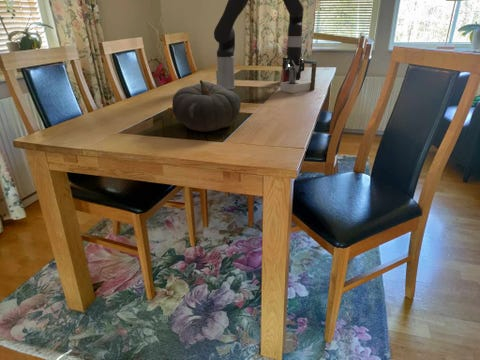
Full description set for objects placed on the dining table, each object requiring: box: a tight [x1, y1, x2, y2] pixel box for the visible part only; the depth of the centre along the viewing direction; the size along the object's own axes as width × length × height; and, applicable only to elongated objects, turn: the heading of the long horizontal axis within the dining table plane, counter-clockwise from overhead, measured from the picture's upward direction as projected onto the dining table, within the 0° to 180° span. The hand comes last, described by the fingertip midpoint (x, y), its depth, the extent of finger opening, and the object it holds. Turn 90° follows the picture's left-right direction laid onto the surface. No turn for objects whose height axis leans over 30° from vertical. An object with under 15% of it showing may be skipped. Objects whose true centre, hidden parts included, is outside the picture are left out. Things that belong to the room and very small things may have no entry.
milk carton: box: [279, 49, 293, 84], centre depth 199 cm, size 9×9×20 cm
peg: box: [289, 67, 296, 84], centre depth 180 cm, size 3×3×12 cm
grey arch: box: [296, 58, 318, 92], centre depth 183 cm, size 4×14×15 cm, turn 36°
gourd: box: [171, 79, 242, 133], centre depth 124 cm, size 25×25×17 cm
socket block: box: [280, 79, 311, 94], centre depth 183 cm, size 13×10×4 cm
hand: (292, 78), depth 179 cm, fingers open, 7 cm apart
